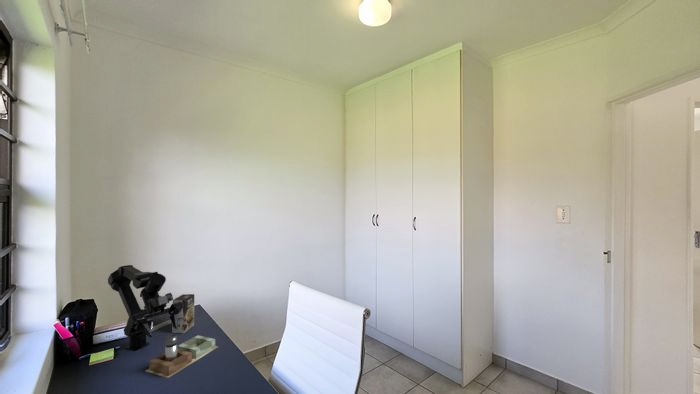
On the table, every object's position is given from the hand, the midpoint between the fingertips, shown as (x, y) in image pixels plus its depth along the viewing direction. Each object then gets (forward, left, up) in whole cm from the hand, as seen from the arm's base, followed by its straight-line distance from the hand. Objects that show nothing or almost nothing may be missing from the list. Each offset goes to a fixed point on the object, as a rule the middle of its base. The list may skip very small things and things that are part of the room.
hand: (164, 332), depth 118 cm
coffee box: (-19, +26, -12) cm, 35 cm away
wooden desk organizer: (+6, +5, -12) cm, 14 cm away
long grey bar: (-33, +27, -13) cm, 44 cm away
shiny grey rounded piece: (+6, -1, -11) cm, 13 cm away
